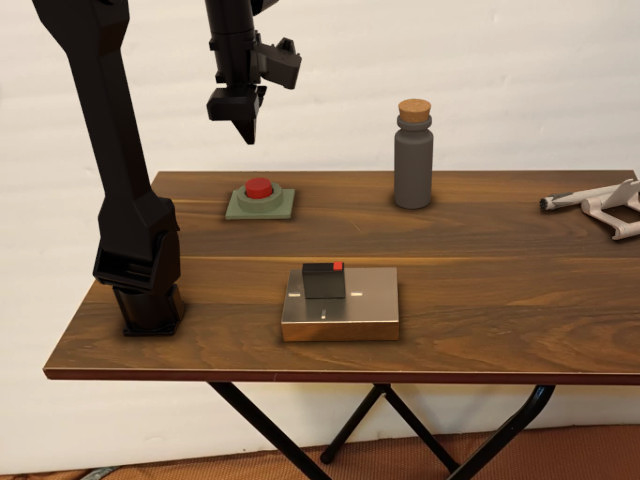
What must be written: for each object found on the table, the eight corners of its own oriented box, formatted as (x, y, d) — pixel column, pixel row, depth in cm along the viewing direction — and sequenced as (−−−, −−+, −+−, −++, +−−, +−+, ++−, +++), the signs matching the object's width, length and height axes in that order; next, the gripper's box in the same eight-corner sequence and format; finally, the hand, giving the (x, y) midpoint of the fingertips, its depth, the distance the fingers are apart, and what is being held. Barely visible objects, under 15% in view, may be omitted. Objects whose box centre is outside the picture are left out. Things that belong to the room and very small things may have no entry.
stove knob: (305, 298, 78) (301, 270, 75) (306, 289, 79) (302, 261, 76) (345, 297, 78) (343, 269, 75) (345, 288, 79) (343, 260, 76)
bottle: (387, 196, 101) (386, 101, 91) (418, 187, 103) (421, 93, 93) (405, 213, 98) (407, 116, 87) (437, 203, 100) (443, 107, 89)
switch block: (225, 219, 97) (222, 205, 96) (234, 193, 103) (231, 179, 101) (290, 218, 97) (288, 204, 96) (295, 192, 103) (293, 178, 101)
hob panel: (284, 341, 77) (280, 321, 75) (292, 287, 85) (289, 267, 83) (398, 340, 77) (398, 320, 75) (396, 285, 85) (396, 266, 82)
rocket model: (547, 209, 95) (712, 179, 102) (543, 193, 95) (710, 164, 101) (539, 213, 97) (701, 183, 104) (536, 197, 97) (699, 169, 104)
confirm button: (244, 200, 97) (243, 190, 96) (248, 187, 100) (246, 177, 99) (270, 200, 97) (269, 189, 96) (273, 187, 100) (272, 177, 99)
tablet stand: (672, 226, 91) (634, 232, 99) (664, 171, 90) (627, 181, 98) (621, 239, 89) (587, 244, 97) (613, 182, 88) (579, 192, 96)
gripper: (286, 50, 75) (300, 173, 86) (300, 5, 88) (310, 116, 99) (193, 52, 75) (219, 174, 86) (221, 7, 89) (240, 118, 100)
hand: (251, 143), depth 93 cm, fingers closed
